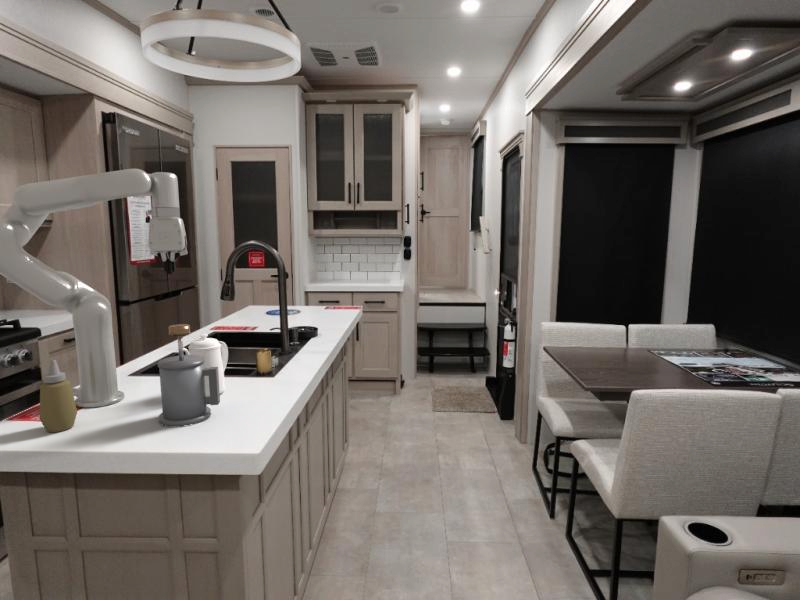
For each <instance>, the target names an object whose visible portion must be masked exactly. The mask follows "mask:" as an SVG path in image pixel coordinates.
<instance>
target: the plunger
mask: <svg viewBox="0 0 800 600" xmlns="http://www.w3.org/2000/svg"><path fill="white" fill-rule="evenodd" d="M190 334H191V325H190V324H188V323H180V324H172V325H168V336H171V337H177V348H178V349H177V351H179V352H178V356H179V360H184V355H185V354H184V351H183V348H184V339H183V337H184V336H189V335H190Z"/></svg>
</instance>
